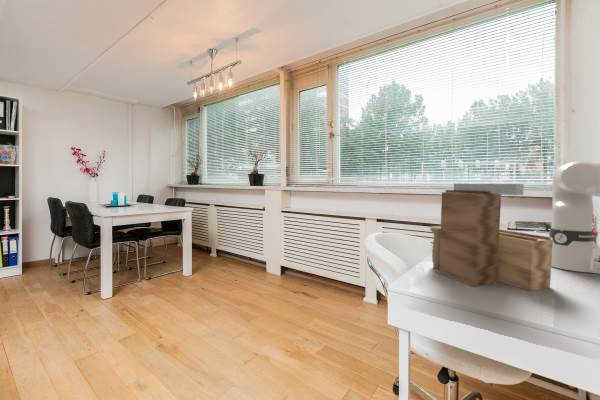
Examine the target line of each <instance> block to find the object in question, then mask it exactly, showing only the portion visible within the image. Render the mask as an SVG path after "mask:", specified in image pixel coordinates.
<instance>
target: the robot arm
mask: <svg viewBox="0 0 600 400" xmlns="http://www.w3.org/2000/svg"><path fill="white" fill-rule="evenodd" d="M593 196H594V197H599V198H600V163H596V162H590V161H584V160H582V161H581V160H580V161H579V160H576V161H572V162H569V163H566V164H563V165H560V166H559V167H558V168H556V170H555V171H554V173H553V176H552V211H551V225H550V226H551V227H549V231H548V233H549V234H548V237H551V239H552V240H553V245H552V262H551V268H557V269H561V270H567V271H573V272H579V273H581V272H582V273H590V274H591V273H593V274H599V275H600V246H599V245H598V244H597V243H596V242H595V240H596V237H598V236H599V231H597V230H593V222H594V221H593V220H594V219H593V218H594V203H593Z"/></svg>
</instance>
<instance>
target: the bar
mask: <svg viewBox="0 0 600 400" xmlns="http://www.w3.org/2000/svg"><path fill="white" fill-rule="evenodd" d="M524 185H525V184H524V183H455V182H454V183H453V190H465V191H483V194H501V195H503V196H504V195H505V196H506V195H509V196H510V195H511V196H524Z"/></svg>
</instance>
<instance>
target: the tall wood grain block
mask: <svg viewBox="0 0 600 400" xmlns="http://www.w3.org/2000/svg"><path fill="white" fill-rule="evenodd" d="M501 203H502V194H483V191H465V190H454V189H445V192H444V191H443V192H441V209H440V210H441V213H440V214H441V215H440V226H441V234H440V261H439V269H438V275H439V274H440V275H441V276H444V277H447V278H449V279H453V280H455V281H458V282H460V283H462V284H466V285H467V286H470V287H473V288H474V287H480V286H485V285H492V284H493V285H494V284H497V283H498V280H497V268H498V248H499V229H500V227H501V225H500V224H501V207H502V206H501V205H502V204H501Z"/></svg>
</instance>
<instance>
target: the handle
mask: <svg viewBox="0 0 600 400" xmlns="http://www.w3.org/2000/svg"><path fill="white" fill-rule="evenodd" d="M430 232H431V233H432V234H433V239H432V240H433V242H432V251H431V252H432V256H431V257H432V267H433V268H434V269H438V270H439V261H440V234H441V225H439V226H438V225H436V226H435V225H433V226H430Z"/></svg>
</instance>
